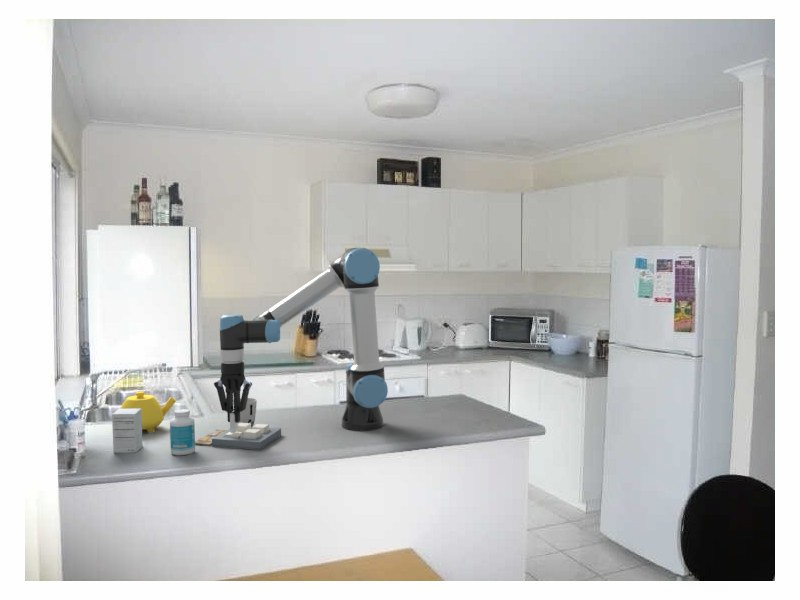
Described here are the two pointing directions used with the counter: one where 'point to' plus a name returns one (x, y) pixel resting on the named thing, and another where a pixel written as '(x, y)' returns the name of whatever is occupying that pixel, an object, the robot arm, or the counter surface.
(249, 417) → the cup
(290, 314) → the robot arm
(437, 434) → the counter surface
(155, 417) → the teapot
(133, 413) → the supplement box
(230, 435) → the button
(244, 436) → the button
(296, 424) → the counter surface
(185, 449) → the pill bottle
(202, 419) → the counter surface
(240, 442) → the button board
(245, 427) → the button
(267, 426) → the button
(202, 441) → the card
